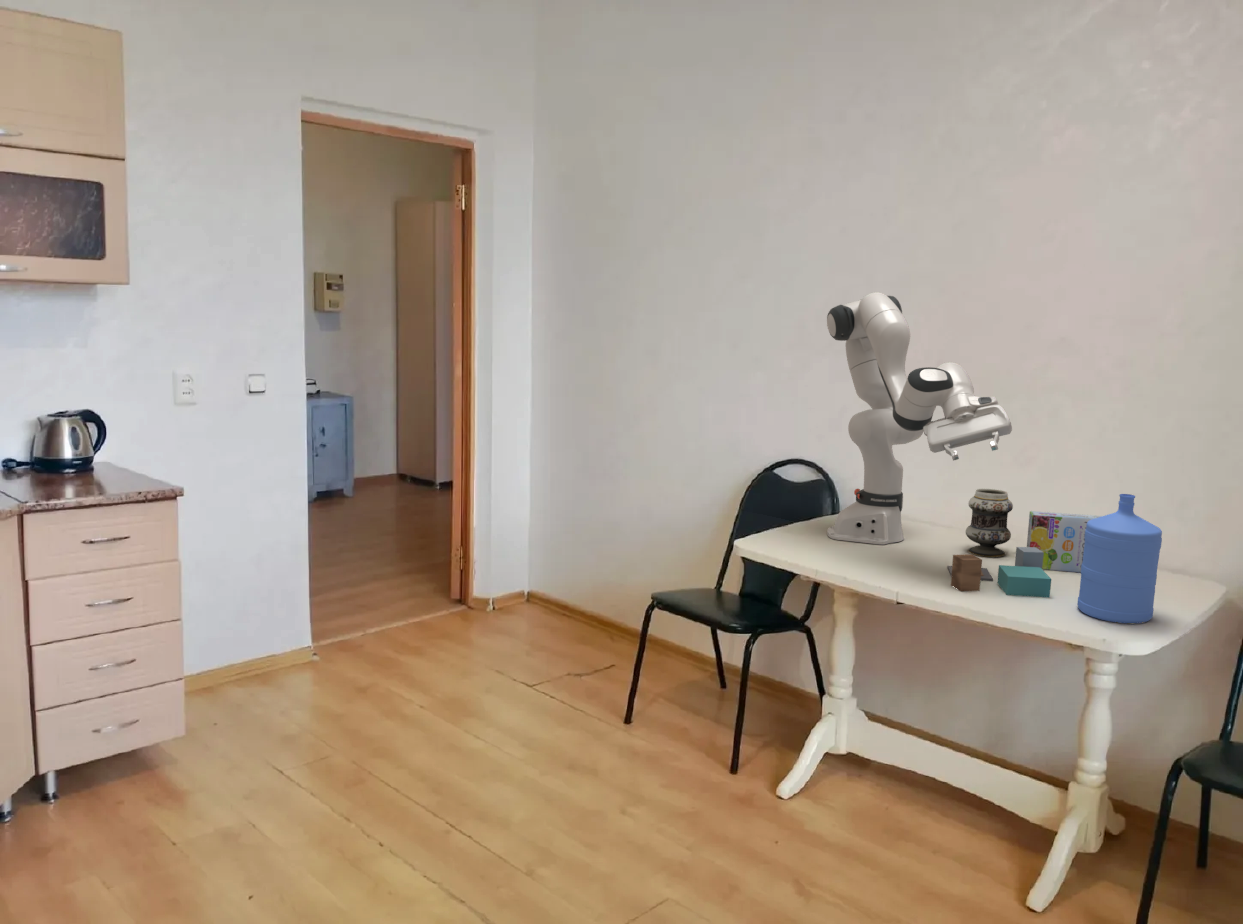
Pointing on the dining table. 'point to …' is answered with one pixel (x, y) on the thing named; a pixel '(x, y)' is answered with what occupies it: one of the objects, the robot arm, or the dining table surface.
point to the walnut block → (966, 572)
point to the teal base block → (1024, 581)
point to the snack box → (1059, 539)
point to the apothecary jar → (989, 522)
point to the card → (984, 574)
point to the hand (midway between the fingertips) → (975, 453)
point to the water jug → (1120, 566)
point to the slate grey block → (1029, 557)
